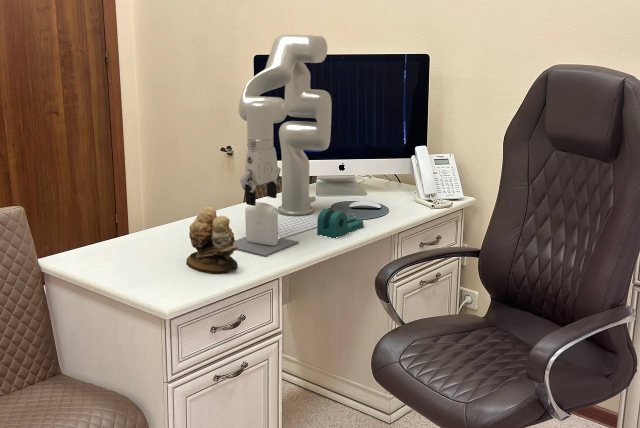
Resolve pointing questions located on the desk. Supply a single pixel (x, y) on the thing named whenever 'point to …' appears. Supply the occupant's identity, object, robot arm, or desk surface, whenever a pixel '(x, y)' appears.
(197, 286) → the desk surface
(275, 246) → the mat
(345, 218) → the bracket
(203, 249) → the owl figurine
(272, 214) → the photo printer
